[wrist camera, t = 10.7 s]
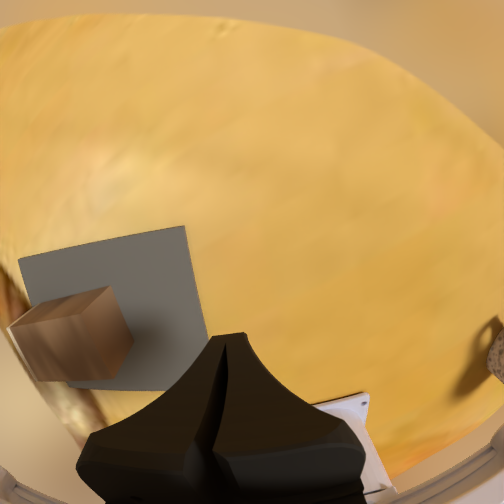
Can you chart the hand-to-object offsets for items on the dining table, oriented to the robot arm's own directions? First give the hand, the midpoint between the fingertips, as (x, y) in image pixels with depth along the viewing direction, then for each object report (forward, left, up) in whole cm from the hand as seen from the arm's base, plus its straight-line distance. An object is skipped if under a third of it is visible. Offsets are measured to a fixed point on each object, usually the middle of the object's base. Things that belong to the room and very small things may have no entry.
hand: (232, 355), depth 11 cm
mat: (-1, +9, -6) cm, 10 cm away
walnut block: (0, +7, -4) cm, 8 cm away
